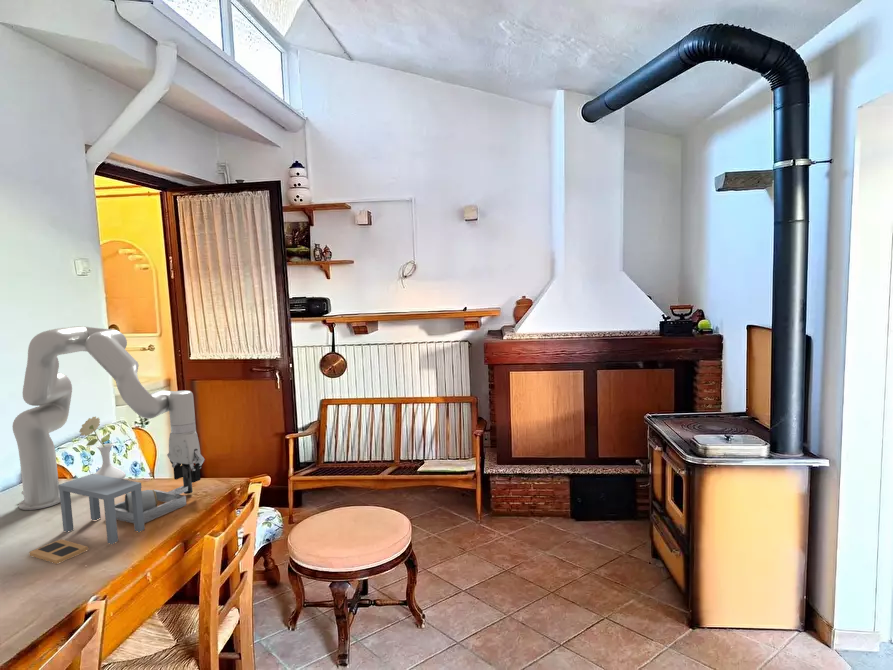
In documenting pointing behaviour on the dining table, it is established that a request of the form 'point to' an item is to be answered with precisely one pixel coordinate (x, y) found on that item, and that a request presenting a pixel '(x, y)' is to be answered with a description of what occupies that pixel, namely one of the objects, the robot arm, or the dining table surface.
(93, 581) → the dining table surface
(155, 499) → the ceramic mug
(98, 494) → the grey side table
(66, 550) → the board
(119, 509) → the grey open frame
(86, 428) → the flower in vase
